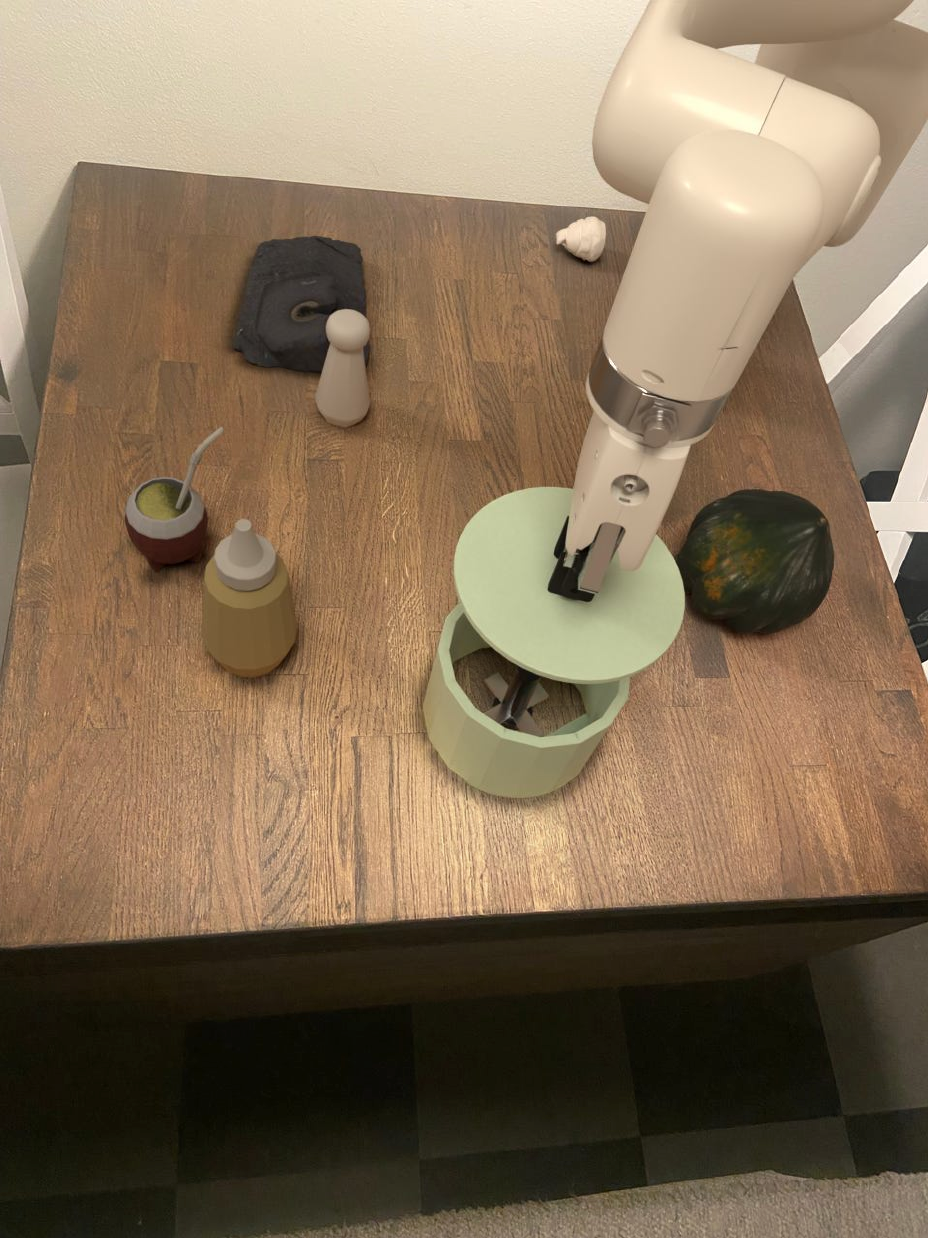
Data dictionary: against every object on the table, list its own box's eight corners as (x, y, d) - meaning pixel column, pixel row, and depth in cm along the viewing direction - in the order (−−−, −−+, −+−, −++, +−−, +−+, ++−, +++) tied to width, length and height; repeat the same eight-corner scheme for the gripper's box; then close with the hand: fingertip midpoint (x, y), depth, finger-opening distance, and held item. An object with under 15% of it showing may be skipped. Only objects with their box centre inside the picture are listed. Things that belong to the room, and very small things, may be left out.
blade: (518, 667, 85) (538, 621, 79) (563, 726, 82) (587, 683, 76) (456, 700, 82) (471, 654, 76) (501, 762, 80) (520, 721, 73)
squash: (643, 503, 92) (745, 503, 79) (758, 477, 98) (872, 474, 84) (659, 638, 95) (760, 661, 82) (771, 606, 101) (883, 623, 87)
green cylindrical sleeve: (528, 617, 89) (554, 551, 80) (629, 745, 83) (669, 690, 74) (390, 686, 82) (402, 623, 74) (488, 831, 76) (514, 781, 68)
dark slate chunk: (377, 260, 115) (381, 226, 111) (366, 381, 103) (370, 348, 99) (254, 242, 113) (253, 207, 109) (228, 363, 101) (226, 329, 97)
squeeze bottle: (257, 707, 79) (251, 588, 64) (184, 658, 81) (162, 530, 66) (314, 644, 84) (321, 519, 69) (244, 598, 85) (236, 466, 70)
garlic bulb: (548, 241, 124) (558, 204, 119) (590, 244, 125) (602, 208, 120) (554, 267, 121) (565, 230, 116) (598, 270, 122) (610, 233, 117)
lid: (585, 469, 72) (610, 406, 67) (725, 626, 66) (765, 572, 61) (406, 545, 65) (417, 482, 60) (544, 730, 59) (571, 679, 54)
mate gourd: (118, 566, 85) (90, 454, 72) (164, 508, 89) (145, 393, 77) (190, 597, 84) (174, 489, 72) (233, 538, 88) (225, 426, 76)
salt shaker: (360, 441, 98) (369, 345, 87) (308, 427, 98) (311, 330, 87) (374, 404, 101) (384, 308, 91) (323, 391, 101) (328, 293, 91)
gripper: (722, 504, 45) (611, 685, 60) (729, 306, 54) (632, 506, 69) (575, 466, 45) (501, 657, 60) (607, 273, 54) (536, 481, 69)
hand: (572, 575), depth 65 cm, fingers closed on lid, 2 cm apart
